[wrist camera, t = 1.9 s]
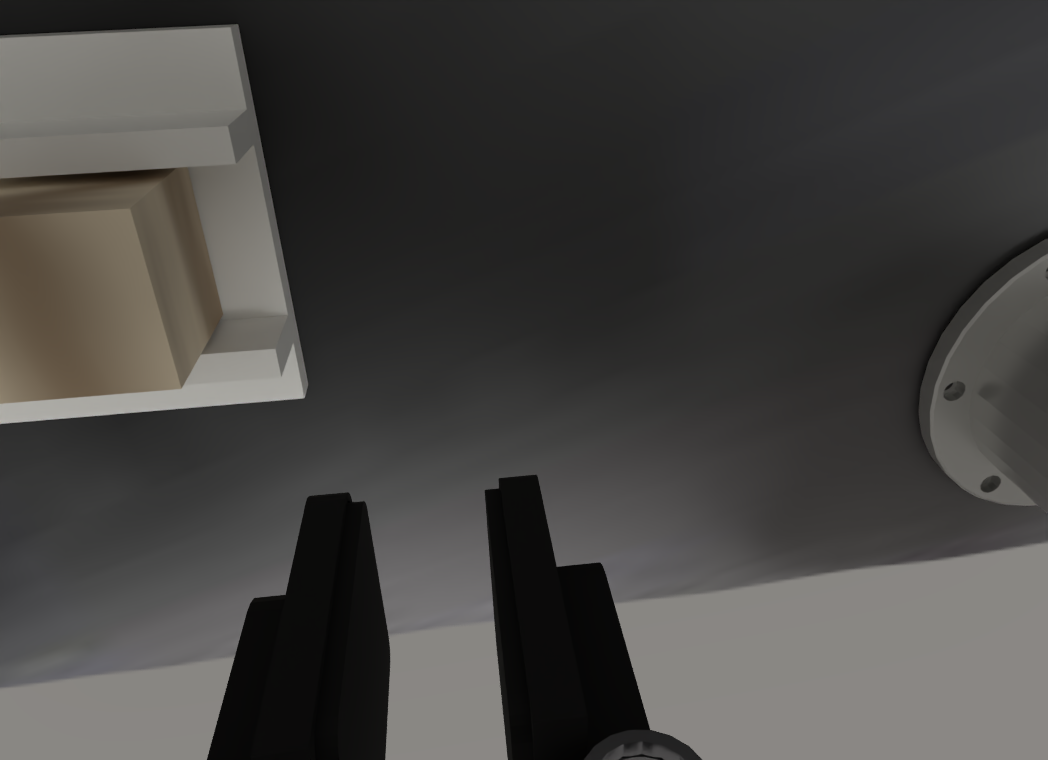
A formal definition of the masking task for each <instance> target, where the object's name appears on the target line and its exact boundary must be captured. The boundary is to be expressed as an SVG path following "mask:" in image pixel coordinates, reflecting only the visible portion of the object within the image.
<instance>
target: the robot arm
mask: <svg viewBox="0 0 1048 760" xmlns="http://www.w3.org/2000/svg"><path fill="white" fill-rule="evenodd" d="M918 414H919V420H920V427H921V434H922V438H923V440H924V442H925V445H926V447H927V449H928V451H929V454H930V456H931V457H932V458H933V459H934V461H935V462H936V463H937V464H938V466H939V467H940V468H941V469H942V470H943V472H945V473H946V474H947V475H948V476H949V477H950V478H951V479H952V480H953V481H954V482H955V483H956V484H958V485H959V486H960V487H961V488H962V489H963V490H965V491H967V492H969V493H970V494H972V495H974V496H976V497H978V498H980V499H983V500H987V501H991V502H995V503H998V504H1002V505H1015V506H1035V505H1038V506H1039V507H1040V508H1041V509H1042V510H1043V511H1044V512H1045V513H1047V514H1048V239H1045V240H1043V241H1041V242H1040V243H1038V244H1036V245H1035V246H1033V247H1032V248H1030V249H1028V250H1027V251H1025V252H1023V253H1022V254H1020V255H1018V256H1017V257H1015V258H1014V259H1012V260H1011V261H1010V262H1008V263H1007V264H1006V265H1005V266H1003V267H1002V268H1001V269H1000V270H999V271H997V272H996V273H995V274H994V275H992V276H991V277H990V278H989V279H987V280H986V281H985V282H984V283H983V284H982V285H981V286H980V287H979V288H978V289H977V291H976V292H975V293H974V294H973V295H972V296H971V297H970V298H969V299H968V300H967V301H966V302H965V303H964V304H963V305H962V307H961V308H960V309H959V311H958V312H957V313H956V315H955V316H954V318H953V319H952V321H951V322H950V323H949V325H948V326H947V328H946V329H945V331H944V332H943V333H942V335H941V337H940V339H939V341H938V343H937V345H936V347H935V349H934V351H933V353H932V355H931V357H930V359H929V361H928V365H927V368H926V371H925V375H924V378H923V382H922V385H921V389H920V401H919V413H918ZM485 500H486V514H487V527H488V540H489V554H490V567H491V580H492V594H493V607H494V621H495V632H496V645H497V655H498V664H499V675H500V685H501V695H502V705H503V715H504V725H505V735H506V745H507V756H508V760H702V759H701V758H700V757H699V756H698V755H697V754H696V753H695V752H694V751H693V750H692V749H691V748H690V747H689V746H688V745H686V744H684V743H682V742H681V741H679V740H677V739H675V738H674V737H672V736H670V735H667V734H663V733H659V732H656V731H652V730H650V728H649V724H648V721H647V717H646V714H645V710H644V707H643V703H642V700H641V696H640V693H639V689H638V686H637V682H636V679H635V675H634V672H633V668H632V665H631V661H630V658H629V654H628V651H627V647H626V644H625V640H624V637H623V634H622V630H621V626H620V623H619V619H618V616H617V612H616V609H615V605H614V602H613V598H612V595H611V591H610V588H609V584H608V581H607V577H606V574H605V571H604V568H603V566H602V564H601V563H591V564H581V565H571V566H561V567H556V562H555V557H554V552H553V548H552V543H551V538H550V533H549V529H548V524H547V519H546V514H545V510H544V505H543V500H542V495H541V490H540V486H539V481H538V477H537V475H529V476H518V477H508V478H499V489H490V490H485ZM389 676H390V646H389V636H388V630H387V624H386V618H385V613H384V607H383V601H382V595H381V589H380V583H379V577H378V571H377V565H376V559H375V553H374V547H373V541H372V535H371V529H370V523H369V517H368V511H367V506H366V503H365V502H364V501H363V502H352V499H351V496H350V494H349V493H337V494H326V495H316V496H309V497H308V498H307V501H306V505H305V509H304V514H303V518H302V523H301V527H300V532H299V536H298V541H297V546H296V550H295V555H294V559H293V564H292V568H291V573H290V577H289V582H288V587H287V591H286V595H280V596H270V597H260V598H254V599H253V601H252V602H251V603H250V606H249V608H248V611H247V614H246V618H245V622H244V625H243V629H242V633H241V636H240V640H239V644H238V647H237V651H236V655H235V658H234V662H233V666H232V670H231V673H230V677H229V681H228V684H227V688H226V692H225V695H224V699H223V703H222V706H221V710H220V714H219V718H218V721H217V725H216V728H215V732H214V736H213V739H212V743H211V747H210V750H209V754H208V758H207V760H385V753H386V734H387V715H388V695H389Z"/></svg>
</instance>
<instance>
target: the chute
mask: <svg viewBox="0 0 1048 760" xmlns="http://www.w3.org/2000/svg"><path fill="white" fill-rule="evenodd" d="M180 167H188V171H189V175H190V179H191V183H192V188H193V192H194V196H195V200H196V204H197V208H198V212H199V216H200V220H201V225H202V229H203V233H204V237H205V241H206V245H207V249H208V253H209V258H210V262H211V266H212V270H213V274H214V278H215V282H216V286H217V290H218V295H219V299H220V303H221V307H222V311H223V316H222V317H221V319H220V321H219V323H218V325H217V326H216V328H215V330H214V332H213V334H212V335H211V337H210V339H209V341H208V342H207V344H206V346H205V348H204V350H203V351H202V353H201V355H200V357H199V359H198V360H197V362H196V364H195V366H194V368H193V369H192V371H191V373H190V375H189V376H188V378H187V380H186V382H185V384H184V385H183V387H182V389H174V390H162V391H150V392H138V393H126V394H114V395H101V396H89V397H77V398H65V399H53V400H41V401H29V402H16V403H4V404H0V424H4V423H16V422H28V421H40V420H52V419H63V418H75V417H87V416H99V415H111V414H123V413H135V412H147V411H158V410H170V409H182V408H194V407H206V406H218V405H230V404H242V403H253V402H265V401H277V400H289V399H301V398H305V395H306V391H307V387H308V381H307V375H306V370H305V365H304V360H303V355H302V350H301V345H300V340H299V334H298V329H297V324H296V319H295V314H294V309H293V304H292V298H291V293H290V288H289V283H288V278H287V273H286V268H285V262H284V257H283V252H282V247H281V242H280V237H279V232H278V227H277V221H276V216H275V211H274V206H273V201H272V196H271V191H270V185H269V180H268V175H267V170H266V165H265V160H264V155H263V150H262V144H261V139H260V134H259V129H258V124H257V119H256V114H255V108H254V103H253V98H252V93H251V88H250V83H249V78H248V72H247V67H246V62H245V57H244V52H243V47H242V42H241V37H240V31H239V26H238V24H231V25H210V26H189V27H168V28H147V29H126V30H105V31H84V32H63V33H42V34H21V35H0V178H16V177H33V176H49V175H66V174H82V173H98V172H115V171H131V170H147V169H164V168H180Z"/></svg>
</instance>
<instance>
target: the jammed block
mask: <svg viewBox="0 0 1048 760" xmlns="http://www.w3.org/2000/svg"><path fill="white" fill-rule="evenodd" d="M222 316H223V311H222V307H221V303H220V299H219V295H218V290H217V286H216V282H215V278H214V274H213V270H212V266H211V262H210V258H209V253H208V249H207V245H206V241H205V237H204V233H203V229H202V225H201V220H200V216H199V212H198V208H197V204H196V200H195V196H194V192H193V188H192V183H191V179H190V175H189V171H188V167H180V168H164V169H147V170H131V171H115V172H98V173H82V174H66V175H49V176H33V177H16V178H0V404H4V403H16V402H29V401H41V400H53V399H65V398H77V397H89V396H101V395H114V394H126V393H138V392H150V391H162V390H174V389H182V387H183V385H184V384H185V382H186V380H187V378H188V376H189V375H190V373H191V371H192V369H193V368H194V366H195V364H196V362H197V360H198V359H199V357H200V355H201V353H202V351H203V350H204V348H205V346H206V344H207V342H208V341H209V339H210V337H211V335H212V334H213V332H214V330H215V328H216V326H217V325H218V323H219V321H220V319H221V317H222Z"/></svg>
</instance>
